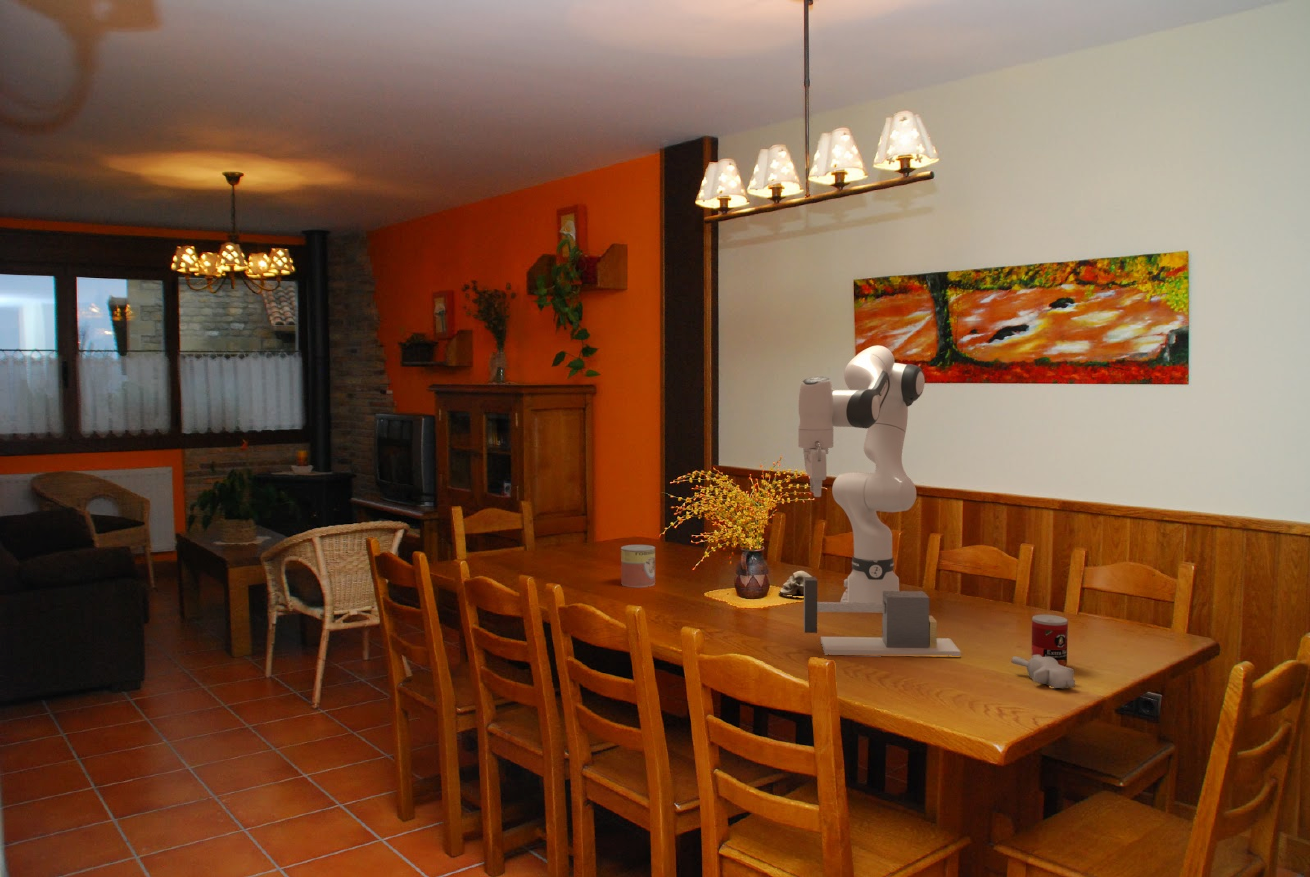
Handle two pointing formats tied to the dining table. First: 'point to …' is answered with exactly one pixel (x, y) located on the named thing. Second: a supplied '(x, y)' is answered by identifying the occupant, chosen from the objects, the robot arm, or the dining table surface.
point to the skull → (794, 584)
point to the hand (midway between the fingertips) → (815, 494)
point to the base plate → (882, 647)
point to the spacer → (932, 632)
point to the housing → (906, 619)
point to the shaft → (830, 606)
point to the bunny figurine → (1047, 671)
